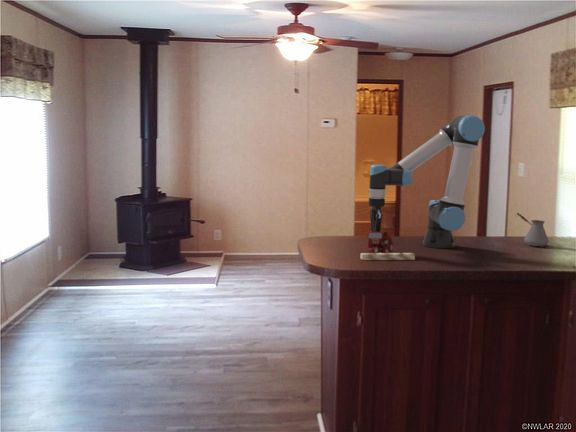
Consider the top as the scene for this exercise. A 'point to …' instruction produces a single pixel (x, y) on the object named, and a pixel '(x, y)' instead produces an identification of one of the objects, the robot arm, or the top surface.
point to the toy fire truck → (379, 242)
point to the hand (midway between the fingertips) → (374, 247)
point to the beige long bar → (387, 256)
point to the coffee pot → (535, 233)
